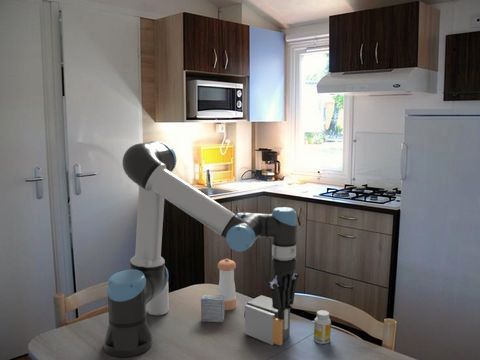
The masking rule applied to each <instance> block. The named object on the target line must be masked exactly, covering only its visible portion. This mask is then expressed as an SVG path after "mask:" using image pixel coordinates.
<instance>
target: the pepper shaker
mask: <svg viewBox="0 0 480 360" xmlns="http://www.w3.org/2000/svg"><path fill="white" fill-rule="evenodd" d="M236 267H237V264H236V262H235V261H234V260H232V259H229V258H228V257H227V258H225V259H221V260H220V261H219V262H218V263H217V269H218V270H219V280H218V281H219V282H218V286H217V287H218V288H217V291H218V292H217V295H223V296H224V311H232V310H236V308H237V297H236V284H235V269H236Z"/></svg>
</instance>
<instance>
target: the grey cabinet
mask: <svg viewBox="0 0 480 360" xmlns="http://www.w3.org/2000/svg"><path fill="white" fill-rule="evenodd" d="M247 304H248V305H250V306H253V307H256V308H259V309H262V310H264V311H267V312H270V313H273V314H275V317H276V318H278V310H277V309H274V308H273V302H272V297H268V296H265V295H259V296H257V297H255V298H253V299H251V300H249V301H247V303H246V305H247ZM243 315H244V316H243V318H244V319H245V311H244V314H243ZM290 320H291V309H289V316H288V329H286V330H284V329H283V334H282V341H283V340H284V339H285V338H287V337H289V336H290V329H291V328H290V327H291V325H290V323H291V321H290ZM275 345H277V344H276V343H275Z"/></svg>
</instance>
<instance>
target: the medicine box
mask: <svg viewBox="0 0 480 360" xmlns="http://www.w3.org/2000/svg"><path fill="white" fill-rule="evenodd" d="M224 319H225V310H224V296H223V295H218V294H203V295H202V296H201V298H200V321H201V322H203V323H223V322H224Z"/></svg>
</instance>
